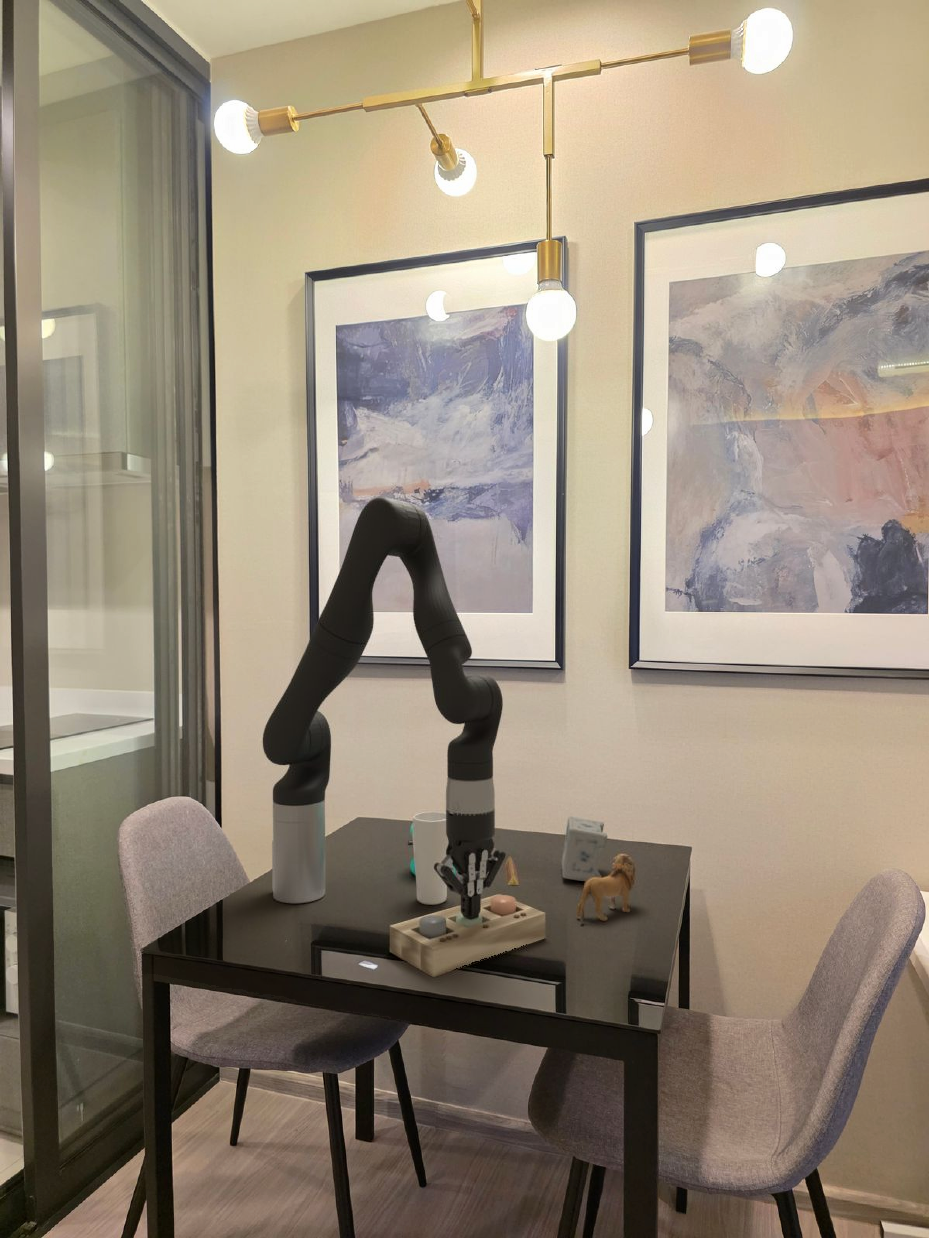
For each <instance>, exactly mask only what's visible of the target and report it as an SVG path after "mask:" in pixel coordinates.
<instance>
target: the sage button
mask: <svg viewBox="0 0 929 1238" xmlns="http://www.w3.org/2000/svg"><path fill="white" fill-rule="evenodd" d="M456 923H458V924H460V925H462V926H464V927H466V928H468V927H471V926H474V925H477V924H480V923H482V916H481V915H480V914H479V917H478V918H475V919H472V920H470V919H467V918H465V917H464V916H463V915H462V913H461V914H458V915H457V916H456Z"/></svg>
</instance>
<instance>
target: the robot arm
mask: <svg viewBox="0 0 929 1238" xmlns="http://www.w3.org/2000/svg"><path fill="white" fill-rule="evenodd" d="M388 556H390V557H397V558H399V559H400V561H401V562H402V564H403V566H404V567H405V568H406V570H407V572H408V574H409V577H410V580H411V582H412V589H413V606H412V616H413V624H414V628H415V631H416V633H417V636H418V639H419V641H420V644H421V645H422V649H423V651H424V653H425V655H426V657H427V659H428V662H429V666H430V676H431V683H432V690H433V696H434V702H435V705H436V707H437V710H438V712H439V713H440V714H441V716H442V717H443V718H444V719H445V720H446V721H448V722H449V723H451V724H454V725H463V724H464V725H463V728H462V732H461V733H460V734H459V735H458V736H457V737H455V738H453V739H452V740H451V741H450V742H449V743H448V746H447V754H446V756H447V768H446V769H447V770H446V771H447V778H446V788H445V813H446V835H447V838H448V847H447V849H446V857H445V858H444V859H443V861H442V862H441V863H435V865H434V870H435V871H436V872H437V873H438V875H439V876H440V877H441V879H442V880H443V881H444V883H445V884H446V885H447V889H449V891H451V892H454V893H457V894H458V895H460V905H461V913H462V915H463V916H464V917H465V918H467V919H470V920H472V919H475V918H478V917H479V913H480V910H481V899H482V898H481V896H482V895H481V894H482V893H483V890H484V889H486V888H490V887H492V884H493V882H494V880H495V878H496V876H497V874H498V872H499V870H500V868H501V867H502V864H503V862H504V861H505V858H506V856H507V855H506V852H504V851H502V850H499V849H497V848H496V847H495V842H494V840H493V837H494V836H495V835H496V834H495V833H496V826H495V825H496V823H495V822H496V821H495V820H496V819H495V818H496V817H495V816H496V814H495V813H496V808H495V806H496V805H495V804H496V802H495V801H496V800H495V798H496V797H495V796H496V795H495V794H496V793H495V792H496V791H495V785H494V757H493V756H494V753H493V752H494V751H493V750H494V747H495V743H496V740H497V736H498V732H499V727H500V722H501V718H502V714H503V704H504V703H503V702H504V701H503V699H504V698H503V695H502V690H501V688H500V686H499V684H498V682H497V681H496V679H494V678H493V677H491V676H489V675H485V674H477V675H468V676H466V675H465V673H464V667H463V665H464V664H465V663H467V662H468V661H469V660H470V659H471V657H472V655H473V649H472V648H473V647H472V645H471V643H470V640H469V638H468V636H467V633H466V632H465V629H464V627H463V624H462V621H461V620H460V618H459V615H458V613H457V611H456V608H455V606H454V603H453V601H452V598H451V596H450V593H449V590H448V586H447V582H446V580H445V576H444V572H443V569H442V568H443V567H442V565H441V561H440V556H439V554H438V549H437V546H436V542H435V538H434V534H433V530H432V527H431V523H430V521H429V519H428V516H427V514H426V513H425V511H424V510H423V509H422V507H420V506H418V505H416V504H414V503H411V502H408V501H404V500H399V499H395V498H389V497H382V496H379V497H378V496H377V497H375V498H373V499H372V500H370V501H369V502H368V503H366V504H365V506H364V507H363V508H362V510H361V511H360V513H359V516H358V518H357V520H356V523H355V525H354V529H353V531H352V534H351V537H350V540H349V543H348V547H347V549H346V552H345V556H344V558H343V561H342V565H341V567H340V570H339V573H338V575H337V577H336V579H335V582H334V584H333V587H332V589H331V590H330V591H331V592H330V594H329V597H328V599H327V601H326V603H325V606H324V607H323V609H322V611H321V614H320V616H319V617H318V620H317V622H316V624H315V626H314V629H313V631H312V633H311V634H310V637H309V641H308V644H307V646H306V647H305V650H304V652H303V655H302V657H301V658H300V661H299V663H298V665H297V667H296V669H295V671H294V673H293V675H292V677H291V679H290V682H289V683H288V685H287V687H286V688H285V690H284V693H283V694H282V696H281V697H280V699H279V701H278V702H277V704H276V706H275V708H274V709H273V711H272V712H271V714H270V716H269V718H268V720H267V721H266V722H267V723H266V724H265V726H264V730H263V735H262V748H263V749H262V750H263V752H264V755H265V757H266V758H267V759H268V760H269V761H270V762H271V763H272V764H274V765H278V766H288V769H287V770H286V772H285V774H284V775H283V776H282V777H281V778H280V779H279V780H278V781H277V782H276V783H275V784H274V785H273V788H272V843H271V847H272V848H271V850H272V851H271V853H272V854H271V855H272V857H271V859H272V861H271V862H272V865H271V867H272V871H271V872H272V876H271V877H272V885H271V886H272V890H271V891H272V892H273V893H272V894H273V895H272V897H273V899H275V901H278V902H280V903H285V904H304V903H305V904H306V903H310V902H313V901H314V902H315V901H317V900H320V899H322V898H323V897H324V896H325V895H326V789H327V787H328V785H329V781H330V776H331V775H330V774H331V755H332V754H331V753H332V735H331V728H330V725H329V722H328V720H327V718H326V717H325V715H324V714H323V713H322V712H321V711H319V708H320V707H321V706H322V704H323V703H324V701H325V700H326V699H327V698H328V697H329V696H330V694H331V693H332V692H334V690H335V689H336V688H338V686H339V685H341V683H342V682H343V681H344V680H345V679H346V678H347V677H348V676H349V675H350V674H351V673H352V671H354V669H355V668H356V667H357V665H358V663H359V661H360V659H361V657H363V654H364V651H365V649H366V647H367V645H368V643H369V641H370V638H371V636H372V633H373V630H374V619H375V618H374V617H375V616H374V603H373V591H374V590H373V589H374V585H375V582H376V579H377V578H378V574H379V572H380V571H381V567H382V566H383V563H384V562H385V560H386V558H387V557H388ZM452 865H453V866H454V868H455V874H454V873H453V872H454V869H453V866H452Z"/></svg>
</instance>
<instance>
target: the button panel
mask: <svg viewBox="0 0 929 1238" xmlns="http://www.w3.org/2000/svg"><path fill="white" fill-rule="evenodd" d="M498 895H501V893H498V894H494V895H492V896H488V897H485V898H481V910H480V913H479V914H480V915H481V916H482V923H480V924H477V925H474V926H471V927H468V928H466V927H464V926H462V925H460V924H458V923H456V916H457V915H458V914H461V904H460V905H457V906H453V907H450V908H447V909H443V910H439V911H436V912H433V913H428V914H425V915H422V916H419V917H415V918H412V919H408V920H405V921H401V922H398V923H395V924H390V925H389V953H391V954H393V955H395V956H396V957H398V958H400V959H401V960H403V961H404V962H406V961H407V963H408V964H409V965H412V966H413V967H415V968H417V969H418V968H419V970H420V971H421V972H424V973H425V972H426V973H425V974H427V975H429V976H431V977H432V978H435V977H438V976H441V975H444V974H447V973H449V972H453V971H455V970H454V969H456V968H458V969H461V968H463V967H462V966H464V965H467V966H470V965H472V964H471V963H472V962H475V961H479V962H481V961H482V960H481V959H484V958H487V959H490V958H492V957H491V956H493V957H495V956H494V955H496V956H498V954H499V955H501V954H504V953H506V952H505V951H507V952H509V951H512V949H513V950H515V949H514V948H516V949H518V948H522V947H524V946H527V945H529V944H530V945H531V944H533V943H535V942H538V941H542V940H545V939H546V912H543V911H541V910H539V909H537V908H534V907H532V906H529V905H527V904H524V903H523V902H519V901H518V900H516V913H512V914H509V915H506V916H503V917H501V916H499V915H497V914H494V913H492V912H491V898H492V897H494V896H498ZM430 915H436V916H442V917H444V918H445V919H446V934H445V935H442V936H439V937H436V938H433V939H428V938H426V937H424V936H422V935H420V934H419V920H420V919H421V918H422V917H425V916H430ZM526 944H527V945H526ZM523 945H524V946H523ZM521 946H522V947H521ZM503 952H504V953H503ZM500 953H501V954H500ZM489 957H490V958H489ZM480 960H481V961H480ZM484 960H485V959H484ZM469 964H470V965H469ZM460 967H461V968H460ZM464 967H465V966H464ZM452 970H453V971H452ZM456 970H457V969H456ZM446 972H447V973H446Z"/></svg>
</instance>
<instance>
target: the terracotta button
mask: <svg viewBox="0 0 929 1238" xmlns="http://www.w3.org/2000/svg"><path fill="white" fill-rule="evenodd" d="M493 896H494V895H493ZM516 901H517V899H516V898H515V897H514V896H512V895H507V894H506V895H505V894H500V895H498V896H494V897H492V898H491V912H492V913H494V914H497V915H499V916H501V917H503V916H506V915H509V914H512V913H516Z"/></svg>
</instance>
